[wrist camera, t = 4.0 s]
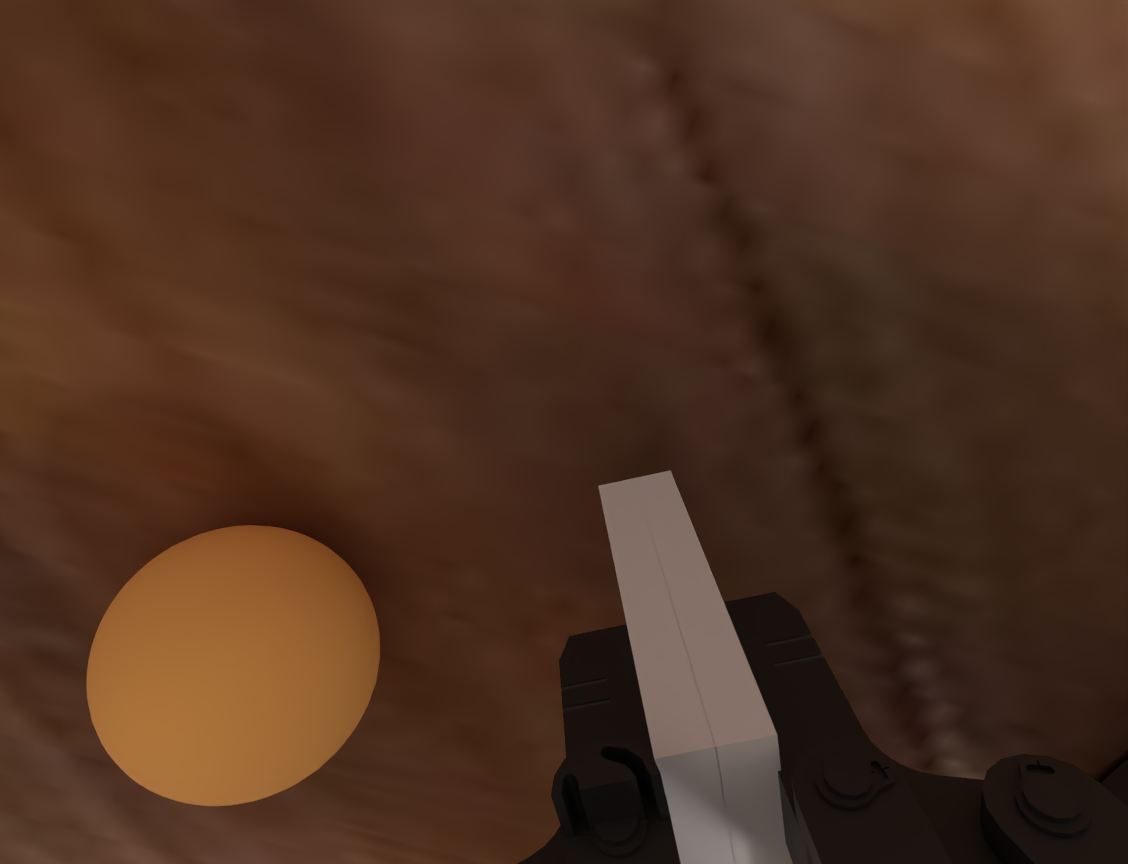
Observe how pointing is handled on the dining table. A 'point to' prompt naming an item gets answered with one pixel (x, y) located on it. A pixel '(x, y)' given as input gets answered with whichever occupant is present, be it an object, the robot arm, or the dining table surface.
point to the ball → (233, 665)
